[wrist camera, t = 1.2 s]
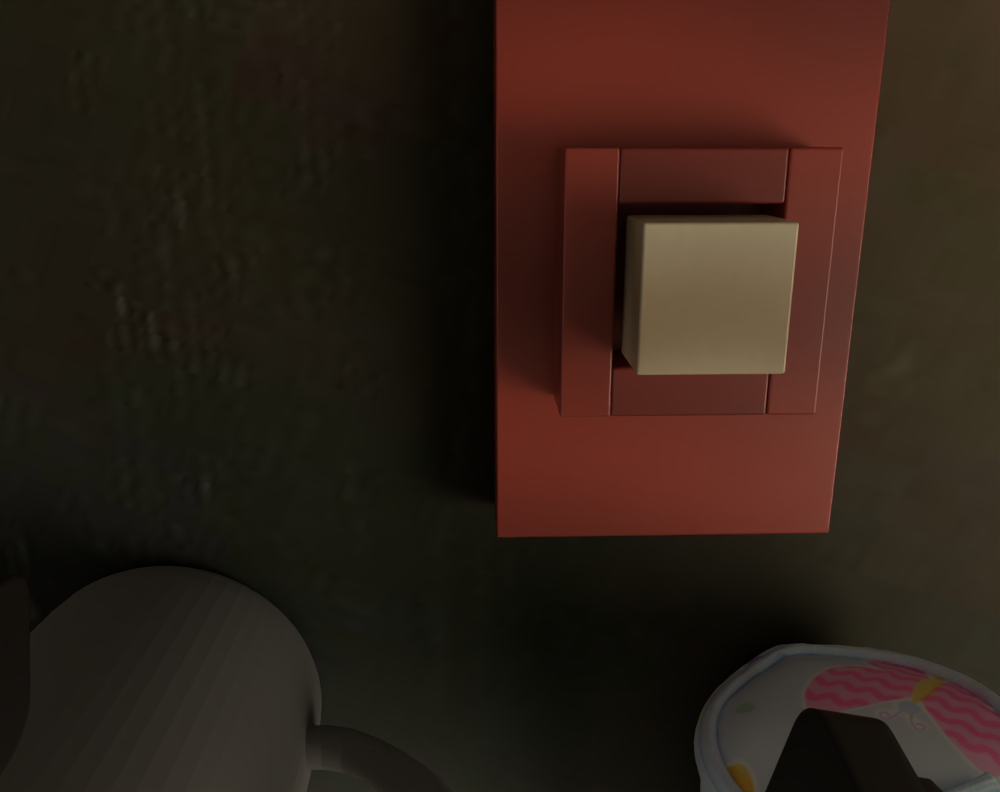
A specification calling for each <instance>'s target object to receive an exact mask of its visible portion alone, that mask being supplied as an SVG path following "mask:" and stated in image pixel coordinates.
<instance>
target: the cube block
mask: <svg viewBox="0 0 1000 792" xmlns="http://www.w3.org/2000/svg"><path fill="white" fill-rule="evenodd" d="M798 229H799V224H798V223H797V222H795V221H791V220H786V219H782V218H778V217H774V216H770V215H766V214H737V215H628V216H627V222H626V247H625V272H624V298H623V323H622V348H621V351H622V354H623V355H624V356H625V358H626V359H627V361H628V362H629V364H630V365H631V366H632V368H633V369H634V371H635V372H636V374H638V375H696V374H783V373H784V372H785V366H786V355H787V345H788V334H789V324H790V313H791V303H792V292H793V282H794V271H795V261H796V250H797V240H798Z"/></svg>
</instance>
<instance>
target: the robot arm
mask: <svg viewBox="0 0 1000 792" xmlns="http://www.w3.org/2000/svg"><path fill="white" fill-rule="evenodd" d="M29 706H30V598H29V589H28V586H27V583H26V581H25V580H24V579H23V578H21V577H17V576H10V575H4V574H0V775H1V774H2V772H3V771H4V769H5V768H6V766H7V765H8V763H9V761H10V760H11V758H12V756H13V754H14V752H15V750H16V748H17V746H18V744H19V741H20V739H21V736H22V733H23V730H24V727H25V724H26V720H27V716H28V712H29ZM765 792H943V791H942V790H941V789H940V788H939V787H938V786H937V785H936V784H935V783H934V782H933V781H932V780H931V779H928V778H922V777H918V776H917V774H916V772H915V771H914V769H913V767H912V765H911V764H910V762H909V760H908V758H907V757H906V755H905V753H904V751H903V750H902V748H901V746H900V744H899V743H898V741H897V739H896V737H895V736H894V734H893V732H892V731H891V729H890V728H889V726H888V725H887V724H886V723H885V722H883V721H882V720H880V719H877V718H872V717H866V716H859V715H853V714H847V713H841V712H835V711H828V710H822V709H816V708H807V709H805V710H803V711H802V712H801V713H800V714H799V715H798V717H797V718H796V720H795V722H794V724H793V727H792V729H791V732H790V734H789V736H788V739H787V741H786V743H785V746H784V748H783V751H782V753H781V755H780V758H779V760H778V762H777V765H776V767H775V770H774V772H773V774H772V777H771V779H770V781H769V784H768V786H767V789H766V791H765Z"/></svg>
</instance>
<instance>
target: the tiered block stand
mask: <svg viewBox="0 0 1000 792" xmlns="http://www.w3.org/2000/svg"><path fill="white" fill-rule="evenodd" d="M889 8H890V0H493V73H494V421H495V518H496V535H497V537H561V536H637V535H713V534H788V533H828V532H829V524H830V515H831V507H832V498H833V489H834V481H835V472H836V464H837V455H838V446H839V438H840V429H841V421H842V412H843V403H844V395H845V386H846V378H847V369H848V360H849V352H850V343H851V335H852V326H853V317H854V309H855V300H856V292H857V283H858V274H859V266H860V257H861V249H862V240H863V231H864V223H865V214H866V205H867V197H868V188H869V180H870V171H871V162H872V154H873V145H874V137H875V128H876V119H877V111H878V102H879V94H880V85H881V76H882V68H883V59H884V51H885V42H886V33H887V25H888V16H889ZM737 214H766V215H770V216H774V217H778V218H782V219H786V220H791V221H795V222H797V223H798V224H799V229H798V240H797V250H796V261H795V271H794V282H793V292H792V303H791V313H790V324H789V334H788V345H787V355H786V366H785V372H784V373H783V374H696V375H638V374H636V372H635V371H634V369H633V368H632V366H631V365H630V364H629V362H628V361H627V359H626V358H625V356H624V355H623V354H622V351H621V348H622V323H623V298H624V272H625V247H626V222H627V216H628V215H737Z"/></svg>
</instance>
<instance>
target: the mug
mask: <svg viewBox="0 0 1000 792" xmlns="http://www.w3.org/2000/svg"><path fill="white" fill-rule="evenodd" d="M321 706H322V699H321V687H320V681H319V676H318V673H317V669H316V666H315V663H314V661H313V658H312V656H311V653H310V651H309V649H308V647H307V645H306V643H305V641H304V639H303V638H302V636H301V635H300V633H299V632H298V630H297V629H296V628H295V626H294V625H293V624H292V623H291V622H290V620H289V619H288V618H287V617H286V616H285V615H284V614H283V613H282V612H281V611H280V610H279V609H278V608H277V607H276V606H275V605H273V604H272V603H271V602H270V601H269V600H267V599H266V598H264V597H263V596H262V595H260V594H259V593H257V592H256V591H254V590H252V589H250V588H249V587H247V586H245V585H243V584H241V583H239V582H237V581H235V580H233V579H230V578H228V577H225V576H222V575H219V574H217V573H213V572H209V571H205V570H201V569H195V568H190V567H181V566H151V567H142V568H136V569H131V570H127V571H123V572H120V573H116V574H113V575H110V576H107V577H104V578H102V579H99V580H97V581H95V582H93V583H91V584H89V585H87V586H85V587H84V588H82V589H81V590H79V591H78V592H76V593H74V594H73V595H72V596H71V597H69V598H68V599H67V600H66V601H64V602H63V603H62V604H61V605H59V606H58V607H57V608H56V609H54V610H53V611H52V612H51V613H50V614H49V615H48V616H47V617H46V618H45V619H44V620H43V621H42V622H41V623H40V624H39V625H38V626H37V627H36V628H35V629H34V630H33V631H32V632H31V633H30V706H29V712H28V716H27V720H26V724H25V727H24V730H23V733H22V736H21V739H20V741H19V744H18V746H17V748H16V750H15V752H14V754H13V756H12V758H11V760H10V761H9V763H8V765H7V766H6V768H5V769H4V771H3V772H2V774H1V775H0V792H306V791H307V787H308V783H309V779H310V774H311V770H329V771H335V772H341V773H345V774H348V775H350V776H352V777H355V778H357V779H359V780H361V781H364V782H366V783H367V784H369V785H370V786H372V787H374V788H375V789H377V790H378V791H380V792H452V791H451V790H450V789H449V787H448V786H447V785H446V784H445V783H444V781H442V780H441V779H440V778H439V777H438V776H437V775H435V774H434V773H433V772H432V771H431V770H429V769H428V768H427V767H426V766H424V765H423V764H421V763H420V762H418V761H417V760H415V759H414V758H412V757H411V756H409V755H408V754H406V753H405V752H403V751H401V750H399V749H398V748H396V747H394V746H392V745H390V744H388V743H386V742H384V741H383V740H381V739H379V738H376V737H374V736H371V735H368V734H365V733H363V732H360V731H357V730H355V729H350V728H343V727H336V726H330V725H320V720H321Z"/></svg>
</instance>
